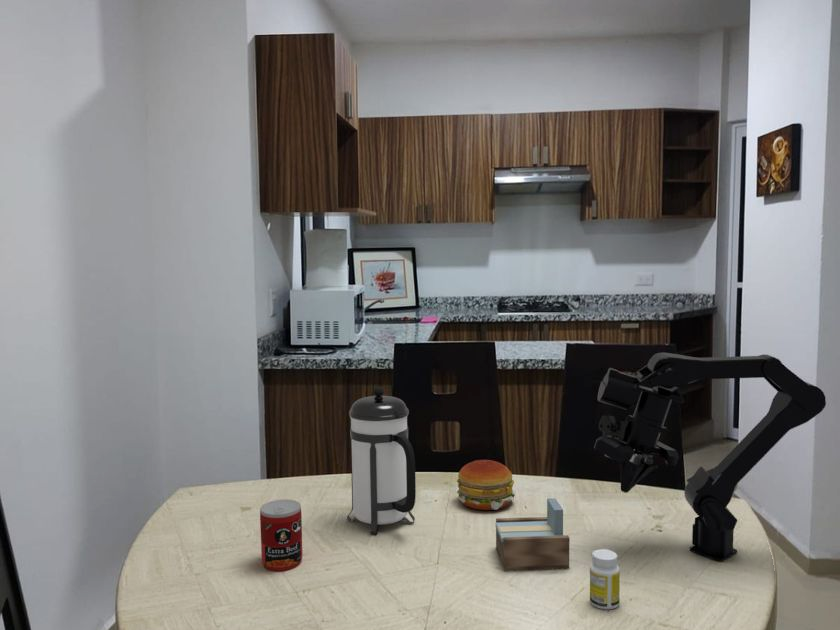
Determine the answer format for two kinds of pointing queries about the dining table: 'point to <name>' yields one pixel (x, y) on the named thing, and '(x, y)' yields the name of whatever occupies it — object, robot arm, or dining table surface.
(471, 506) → the burger
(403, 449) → the coffee press
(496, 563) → the dining table surface
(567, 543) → the pencil box
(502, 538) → the lid
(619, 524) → the dining table surface
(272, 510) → the canned food
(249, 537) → the dining table surface
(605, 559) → the supplement bottle
